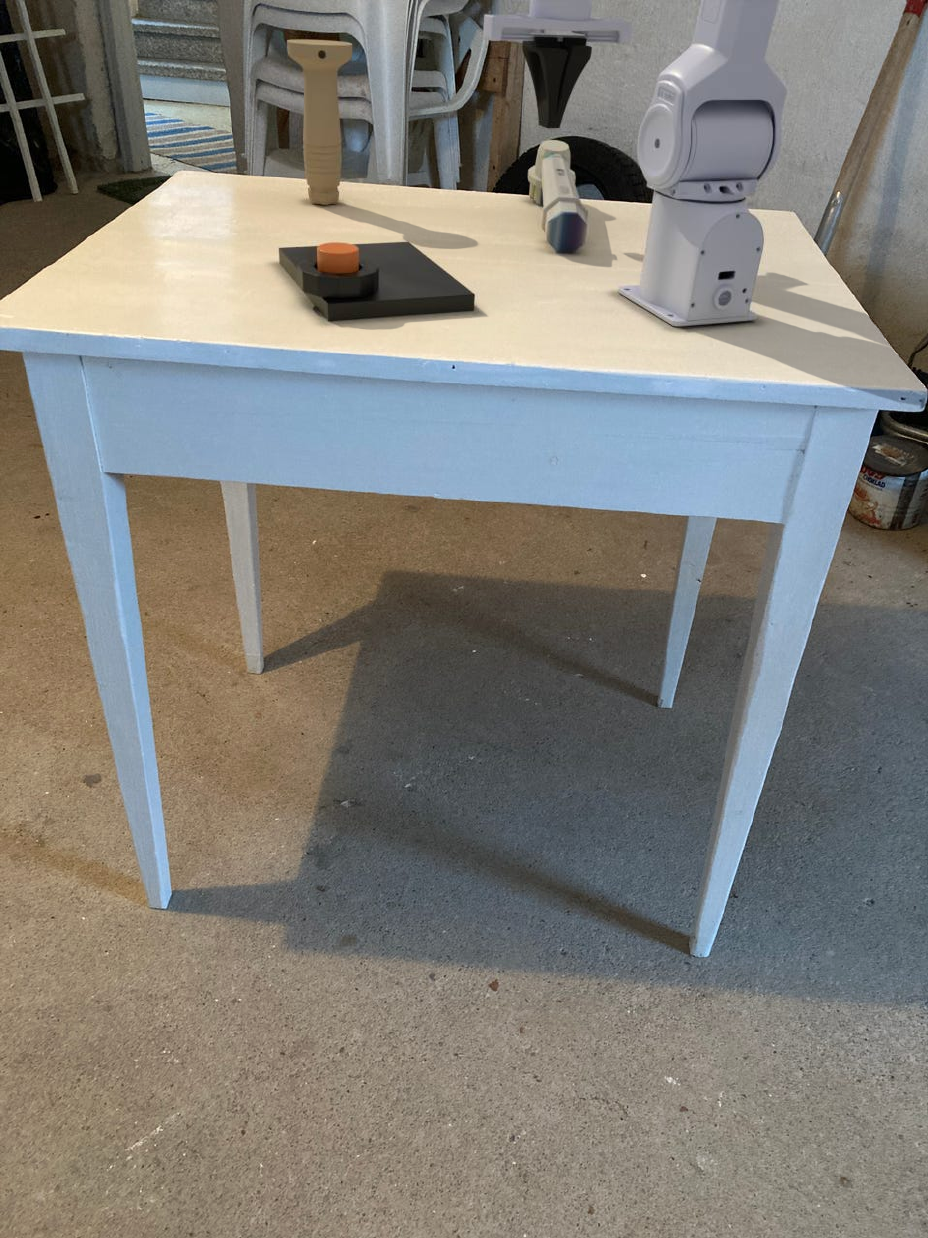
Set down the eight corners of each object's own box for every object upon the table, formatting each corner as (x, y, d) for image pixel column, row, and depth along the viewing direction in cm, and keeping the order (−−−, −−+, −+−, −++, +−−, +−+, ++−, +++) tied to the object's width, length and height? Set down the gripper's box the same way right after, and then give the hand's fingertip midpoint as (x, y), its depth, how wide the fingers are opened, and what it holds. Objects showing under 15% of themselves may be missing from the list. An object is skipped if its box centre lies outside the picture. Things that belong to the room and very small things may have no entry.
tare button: (364, 275, 76) (364, 251, 75) (323, 277, 75) (323, 254, 74) (352, 263, 79) (352, 241, 78) (313, 265, 78) (312, 242, 77)
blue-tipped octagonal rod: (541, 208, 92) (531, 124, 110) (534, 277, 97) (525, 186, 115) (597, 211, 92) (577, 127, 111) (587, 280, 97) (570, 188, 115)
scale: (474, 311, 79) (476, 273, 77) (314, 323, 74) (313, 283, 73) (408, 257, 91) (408, 222, 89) (267, 264, 86) (265, 228, 85)
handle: (292, 196, 108) (285, 38, 99) (351, 197, 109) (349, 40, 100) (295, 207, 104) (288, 43, 95) (356, 207, 105) (354, 46, 97)
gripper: (613, -38, 95) (594, 118, 103) (474, -46, 90) (465, 119, 98) (651, -34, 89) (628, 131, 97) (506, -42, 85) (494, 132, 92)
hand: (549, 126), depth 97 cm, fingers closed
